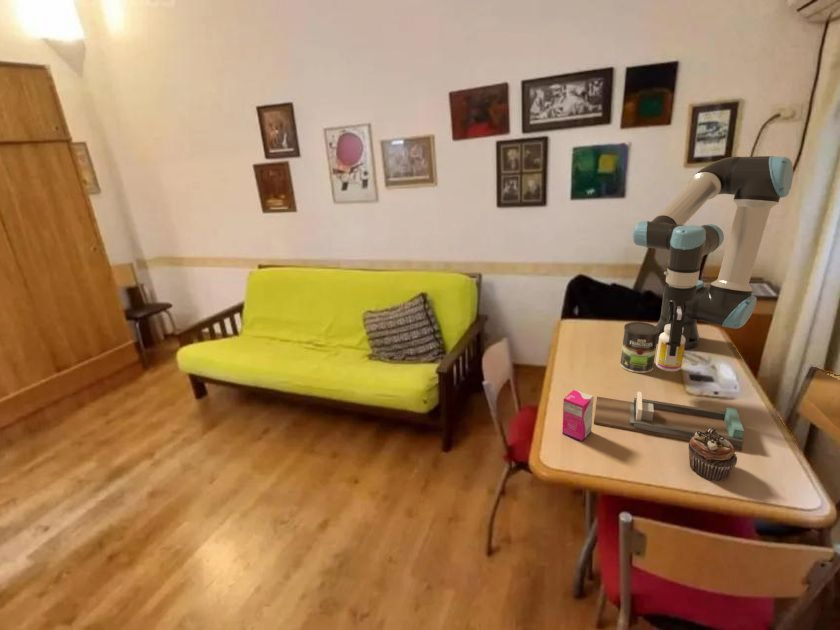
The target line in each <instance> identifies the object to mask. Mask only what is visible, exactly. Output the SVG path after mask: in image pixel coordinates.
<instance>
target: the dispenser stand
mask: <svg viewBox="0 0 840 630" xmlns="http://www.w3.org/2000/svg"><path fill="white" fill-rule="evenodd" d="M636 400H637V397H634V399H633V401H628V400H627V401H626V400H620V399H616V398H608V397H604V396H602V397H601V396H596V402H595V411H594V419H593V425H597V426H604V427H609V428H615V429H619V430H626V431H631V432H636V433H642V434H648V435H652V436H657V437H664V438H669V439H675V440H681V441H685V442H686V441H687V442H690V440H691V438H692V437H693V436H695V433H696V432H697V431H699V432H702V433H705V431H708V430H709V429H712V428H713V429H716V430H715V431H716V432H717V433H718V434H720V435H721V436H723V437H724V438H725V439H726V440H727V441H729V442H730V443H731V444H732V445H733V447H734V448H735V451H739V452H740V451H742V449H743V443H744V439H743V438H744V433H745V430H744V427H743V424H742V422H741V421H742V420H741V418H740V416H739V413H738V410H737V408H735V407H726V409H725V410H726V411H722V410H718V409H710V408H705V407H698V406H697V407H696V406H691V405H684V404H678V403H671V402H666V401H657V400H654V399H653V400H652V399H646V398H642V402H644V403H650V404H653V409H654V414H653V420H652V421H648V420H642V419H641V421H638V420H636ZM717 436H719V435H717Z"/></svg>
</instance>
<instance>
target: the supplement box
mask: <svg viewBox="0 0 840 630" xmlns="http://www.w3.org/2000/svg"><path fill="white" fill-rule="evenodd" d="M562 405H563V407H562V411H563V412H562V430H561V431H562V434H563V435H565V436H567V437H569V438H571V439H574V440H576V441H579V442H581V443H582V442H584V440H585V439H586V438H587V437H588V436H589V435H590V434H591V433H592V427H593V425H592V423H593V412H594V411H593V409H594V395H591V394H588V393H585V392H582V391H579V390H576V389H573V390H571V391H570V392H569V393H568V394H567V395H566V396H565V397H564V398H563V404H562Z"/></svg>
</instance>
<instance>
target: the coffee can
mask: <svg viewBox="0 0 840 630" xmlns="http://www.w3.org/2000/svg"><path fill="white" fill-rule="evenodd" d="M623 329H624V330H623V338H622V339H623V340H622V346H621V347H622V348H621V354H620V361H619V365H620V367H621V368H622V369H624V370H626V371H627V372H630V373H634V374H635V373H637V374H647V373H650V372H652V371H653V370H654V363H655V360H656V353H657V351H656V350H657V347H658V343H657V340H658V334H659V328H658V327H656V325H655V324H652V323H648V322H643V321H642V322H641V321H632V322H627V323H625V324H624V326H623Z"/></svg>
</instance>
